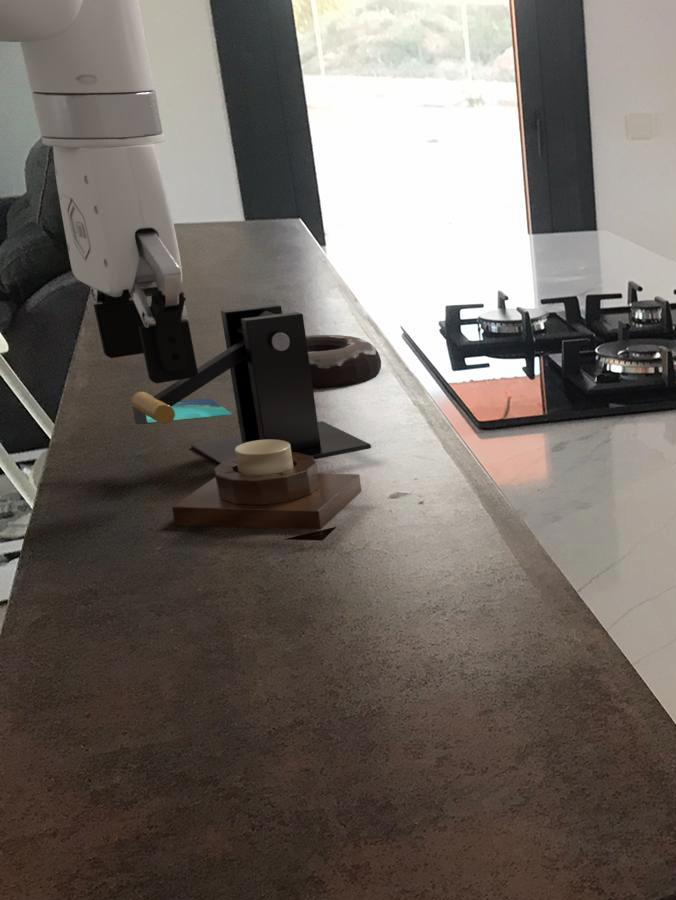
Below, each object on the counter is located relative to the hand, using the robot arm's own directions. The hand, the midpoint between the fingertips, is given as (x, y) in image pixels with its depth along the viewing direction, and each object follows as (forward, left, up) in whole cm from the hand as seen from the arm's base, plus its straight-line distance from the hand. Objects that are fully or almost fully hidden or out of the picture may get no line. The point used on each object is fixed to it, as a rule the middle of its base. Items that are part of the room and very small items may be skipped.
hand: (150, 366), depth 95 cm
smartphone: (-4, +18, -9) cm, 20 cm away
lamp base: (+11, -8, -9) cm, 16 cm away
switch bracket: (+6, +6, -9) cm, 12 cm away
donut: (0, +30, -9) cm, 31 cm away
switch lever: (+4, +3, -2) cm, 5 cm away
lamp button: (+11, -8, -5) cm, 15 cm away
